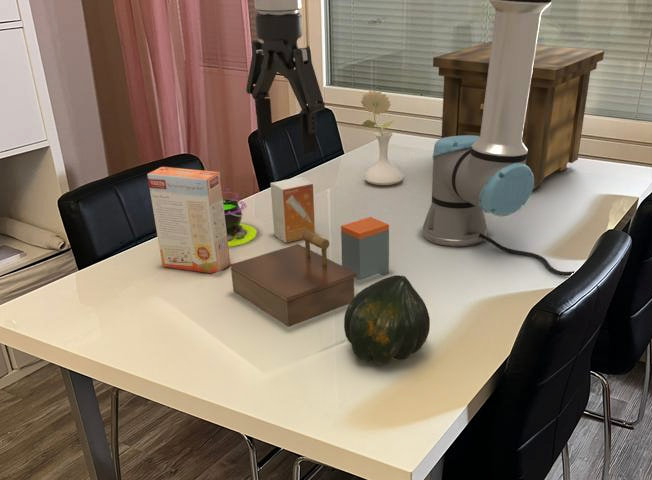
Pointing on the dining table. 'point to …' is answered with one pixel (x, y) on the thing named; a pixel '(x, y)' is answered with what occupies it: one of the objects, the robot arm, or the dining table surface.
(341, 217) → the dining table surface
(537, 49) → the wooden drawer cabinet
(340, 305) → the chest
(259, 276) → the chest lid
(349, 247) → the container
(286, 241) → the small box
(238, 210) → the toy cauldron
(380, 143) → the flower in vase
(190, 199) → the cracker box
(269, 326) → the dining table surface
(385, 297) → the squash
